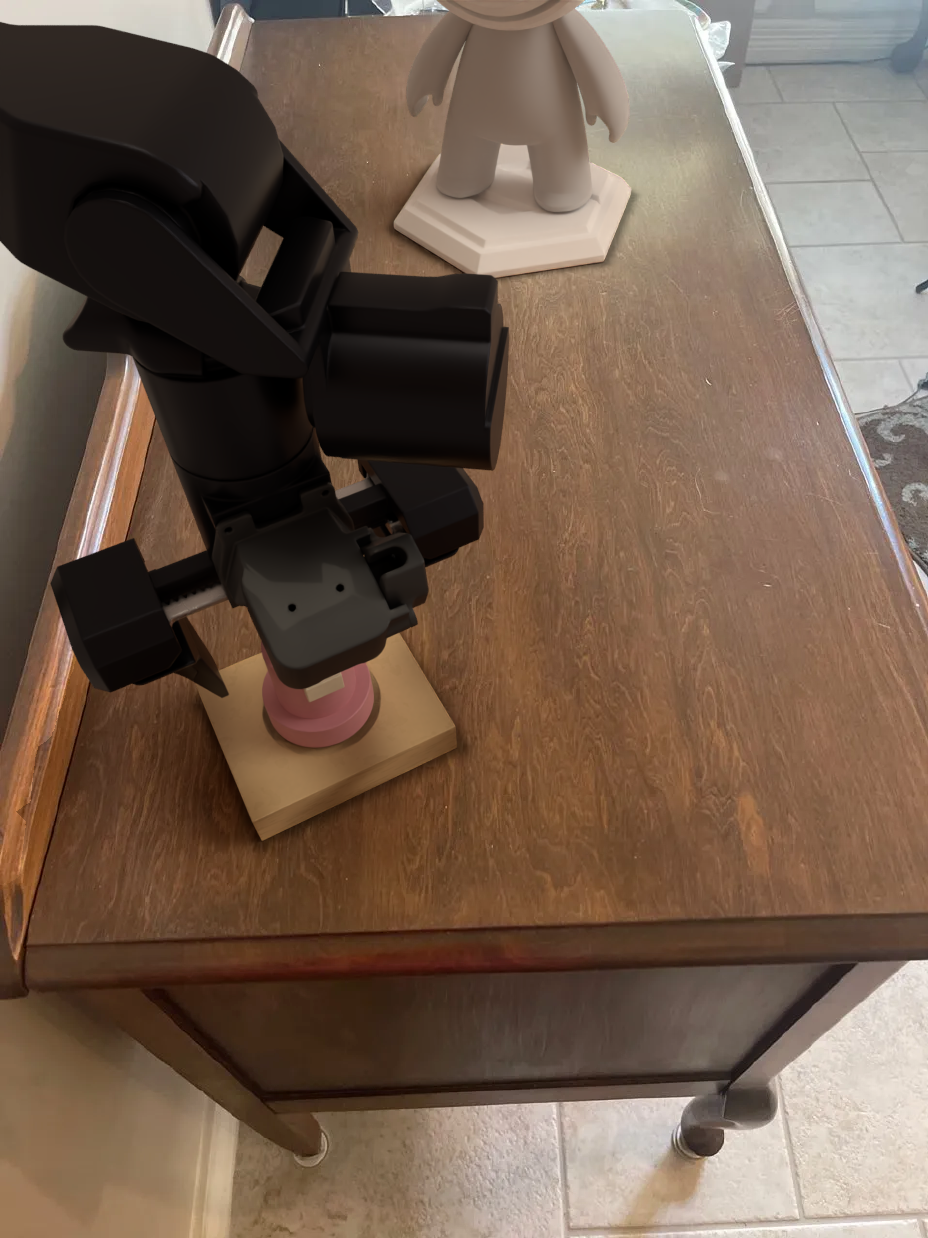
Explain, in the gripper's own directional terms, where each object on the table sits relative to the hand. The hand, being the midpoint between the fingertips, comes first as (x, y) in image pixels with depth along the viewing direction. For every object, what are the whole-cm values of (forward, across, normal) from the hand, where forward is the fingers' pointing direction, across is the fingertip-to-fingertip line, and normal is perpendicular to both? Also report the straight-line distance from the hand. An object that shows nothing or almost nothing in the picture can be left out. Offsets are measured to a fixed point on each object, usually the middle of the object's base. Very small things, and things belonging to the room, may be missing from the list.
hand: (306, 654), depth 48 cm
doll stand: (+7, 0, 0) cm, 7 cm away
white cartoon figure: (+8, +37, +43) cm, 57 cm away
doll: (+5, 0, 0) cm, 5 cm away
